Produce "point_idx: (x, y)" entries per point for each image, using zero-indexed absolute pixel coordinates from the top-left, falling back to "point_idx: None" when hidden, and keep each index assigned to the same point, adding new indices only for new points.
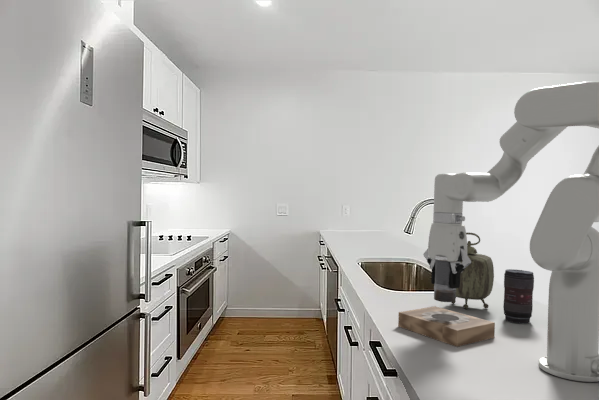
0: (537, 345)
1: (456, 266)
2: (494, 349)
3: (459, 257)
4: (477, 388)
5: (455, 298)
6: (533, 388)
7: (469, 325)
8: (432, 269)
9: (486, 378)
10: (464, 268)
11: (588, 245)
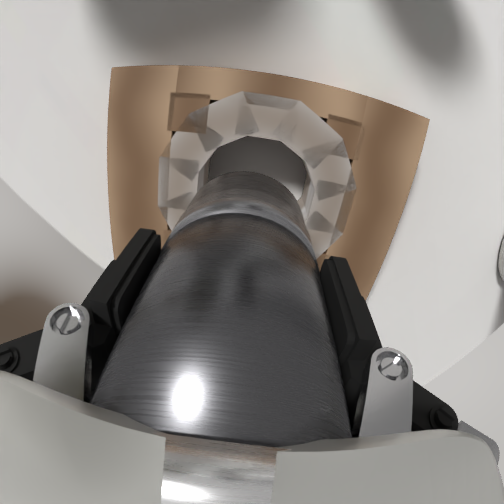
0: (493, 109)
1: (346, 402)
2: (430, 224)
3: (397, 497)
4: (417, 381)
5: (301, 212)
6: (476, 337)
7: (376, 230)
8: None
9: (427, 356)
10: (436, 409)
11: None
